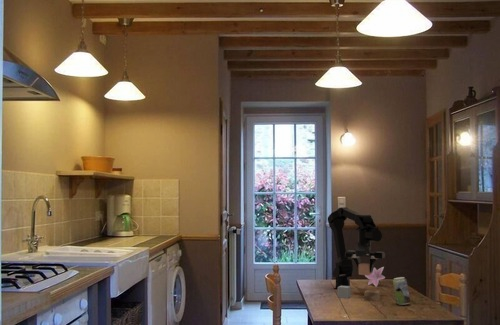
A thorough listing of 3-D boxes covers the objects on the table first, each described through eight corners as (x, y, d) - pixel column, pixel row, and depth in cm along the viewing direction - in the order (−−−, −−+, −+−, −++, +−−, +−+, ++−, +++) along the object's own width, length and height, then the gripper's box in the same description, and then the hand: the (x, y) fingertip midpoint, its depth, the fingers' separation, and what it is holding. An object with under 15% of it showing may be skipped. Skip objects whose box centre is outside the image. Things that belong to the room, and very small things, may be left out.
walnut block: (364, 300, 260) (364, 292, 260) (367, 298, 265) (367, 290, 266) (377, 301, 257) (377, 292, 258) (380, 299, 263) (380, 290, 263)
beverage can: (411, 306, 245) (410, 278, 246) (393, 305, 247) (393, 278, 247) (409, 303, 251) (409, 276, 252) (392, 303, 253) (392, 276, 253)
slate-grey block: (337, 297, 268) (337, 287, 268) (341, 296, 272) (341, 285, 273) (347, 298, 265) (347, 287, 266) (351, 296, 270) (350, 286, 270)
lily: (364, 285, 311) (359, 271, 308) (382, 276, 313) (378, 262, 310) (374, 295, 300) (369, 280, 297) (393, 286, 302) (389, 271, 299)
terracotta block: (358, 274, 275) (358, 264, 275) (361, 273, 279) (361, 263, 279) (368, 275, 272) (368, 264, 273) (371, 274, 277) (371, 263, 277)
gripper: (340, 240, 274) (341, 273, 273) (378, 241, 265) (379, 275, 264) (348, 239, 284) (348, 270, 283) (384, 240, 275) (385, 272, 274)
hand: (365, 272), depth 276 cm, fingers closed on terracotta block, 5 cm apart
